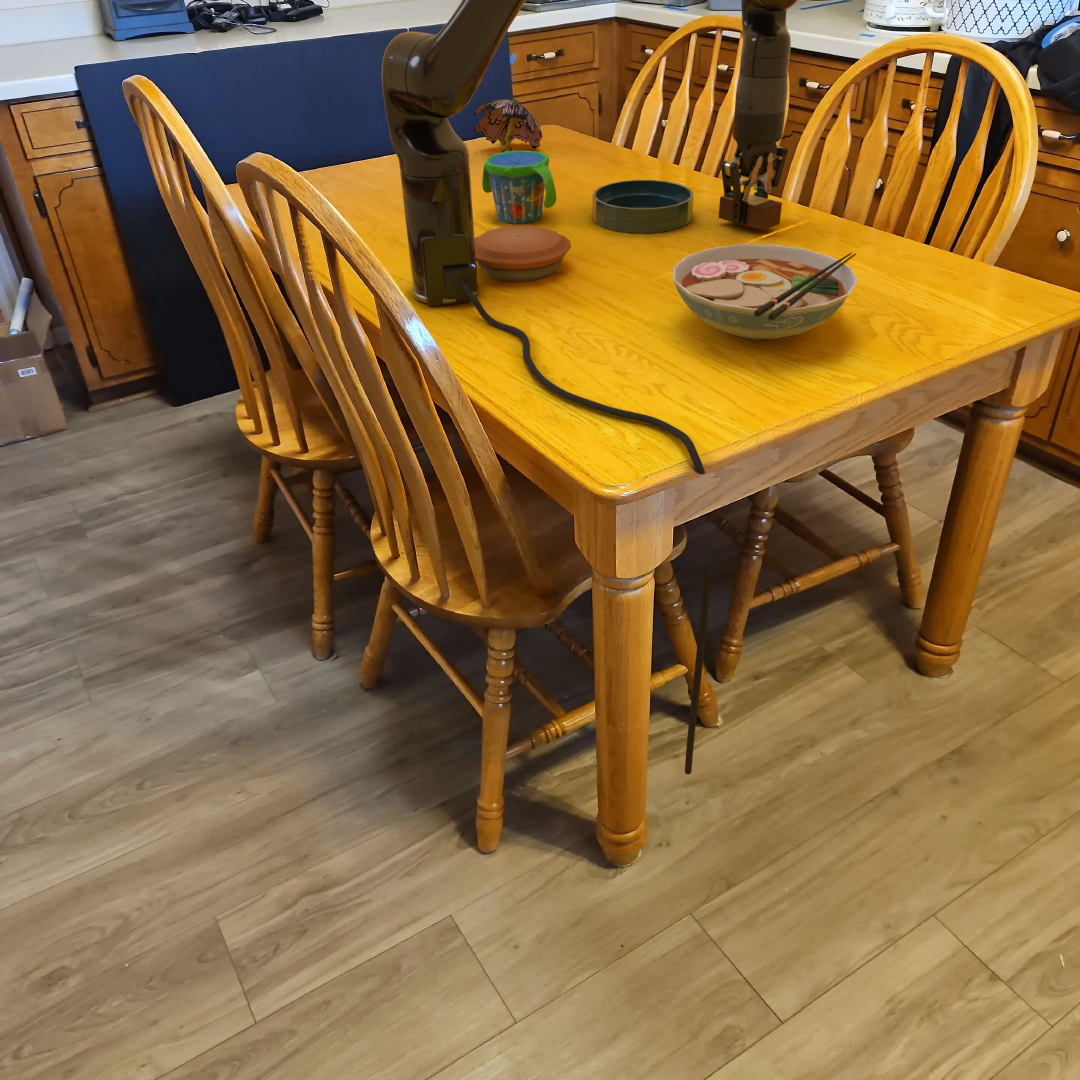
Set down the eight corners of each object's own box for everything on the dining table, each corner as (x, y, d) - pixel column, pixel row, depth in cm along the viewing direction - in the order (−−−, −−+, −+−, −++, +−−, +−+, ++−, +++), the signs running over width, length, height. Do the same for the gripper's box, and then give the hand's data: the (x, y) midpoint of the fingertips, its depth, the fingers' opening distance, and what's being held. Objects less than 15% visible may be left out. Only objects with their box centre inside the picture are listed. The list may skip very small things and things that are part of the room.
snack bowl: (705, 231, 155) (707, 204, 152) (606, 240, 152) (606, 213, 150) (674, 201, 168) (675, 176, 165) (583, 210, 166) (583, 184, 163)
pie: (552, 246, 151) (551, 214, 148) (585, 279, 139) (585, 245, 136) (458, 258, 148) (455, 226, 145) (484, 293, 136) (481, 259, 133)
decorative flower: (560, 99, 194) (501, 86, 185) (559, 159, 196) (500, 149, 187) (517, 110, 205) (459, 98, 196) (516, 167, 207) (459, 158, 198)
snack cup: (467, 216, 165) (463, 155, 159) (515, 203, 170) (512, 143, 164) (523, 238, 155) (521, 173, 149) (572, 223, 160) (572, 160, 154)
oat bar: (779, 224, 152) (782, 201, 150) (762, 230, 149) (764, 208, 147) (735, 212, 157) (737, 190, 155) (718, 218, 155) (720, 196, 153)
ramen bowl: (729, 281, 137) (734, 224, 132) (881, 318, 125) (893, 257, 120) (629, 340, 121) (630, 278, 117) (792, 389, 109) (801, 322, 105)
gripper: (749, 118, 137) (738, 236, 147) (809, 102, 145) (795, 215, 155) (710, 110, 142) (701, 225, 152) (769, 95, 149) (758, 205, 159)
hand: (748, 219), depth 153 cm, fingers closed on oat bar, 4 cm apart
